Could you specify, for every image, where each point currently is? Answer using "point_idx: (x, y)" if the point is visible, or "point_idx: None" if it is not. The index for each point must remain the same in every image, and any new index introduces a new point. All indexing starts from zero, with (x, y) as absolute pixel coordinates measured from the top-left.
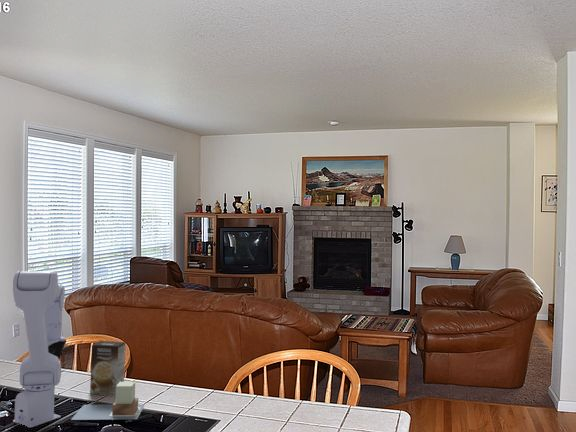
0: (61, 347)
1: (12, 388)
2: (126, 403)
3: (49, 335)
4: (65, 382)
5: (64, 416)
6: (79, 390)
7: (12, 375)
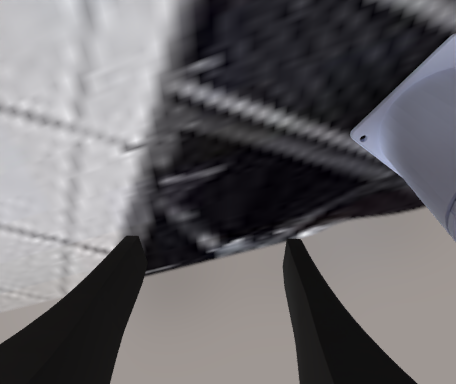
0: (65, 345)
1: None
2: None
3: None
4: (13, 165)
5: (434, 20)
6: (72, 80)
7: (36, 291)
